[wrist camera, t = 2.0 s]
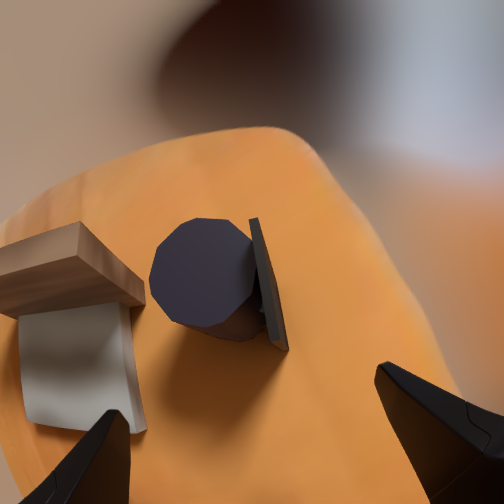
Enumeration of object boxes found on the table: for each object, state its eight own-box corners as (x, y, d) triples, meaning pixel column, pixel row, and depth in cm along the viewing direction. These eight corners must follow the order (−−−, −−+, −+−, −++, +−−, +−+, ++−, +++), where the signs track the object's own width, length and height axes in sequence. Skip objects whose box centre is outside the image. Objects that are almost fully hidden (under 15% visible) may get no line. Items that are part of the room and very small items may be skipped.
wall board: (164, 428, 17) (97, 463, 8) (31, 418, 16) (-45, 417, 7) (144, 281, 22) (80, 221, 12) (23, 303, 21) (-45, 266, 11)
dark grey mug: (301, 278, 21) (311, 209, 12) (288, 352, 19) (290, 345, 10) (208, 264, 23) (156, 194, 13) (192, 332, 21) (118, 305, 11)
